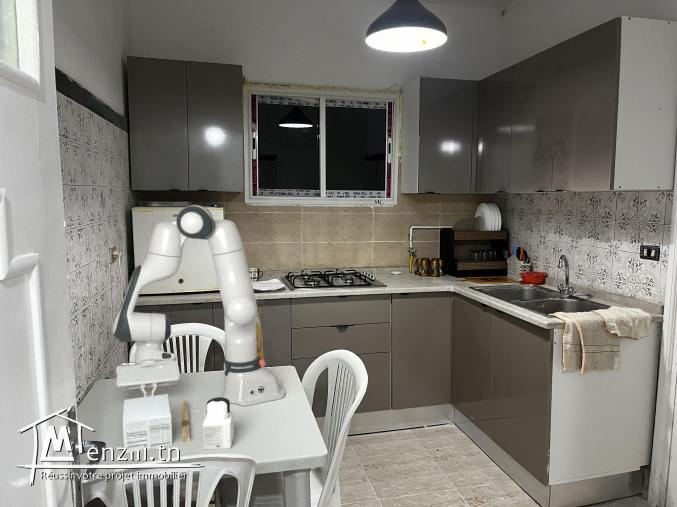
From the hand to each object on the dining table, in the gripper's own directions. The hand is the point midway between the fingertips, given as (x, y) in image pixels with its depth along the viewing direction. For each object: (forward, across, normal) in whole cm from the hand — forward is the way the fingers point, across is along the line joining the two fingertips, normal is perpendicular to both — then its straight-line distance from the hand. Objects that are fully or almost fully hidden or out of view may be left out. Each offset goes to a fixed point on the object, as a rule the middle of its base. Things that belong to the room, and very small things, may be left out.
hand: (149, 398), depth 165 cm
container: (+24, +20, -16) cm, 35 cm away
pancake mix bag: (-12, +36, +19) cm, 42 cm away
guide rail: (+12, +11, -4) cm, 16 cm away
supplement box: (+16, 0, -8) cm, 18 cm away
